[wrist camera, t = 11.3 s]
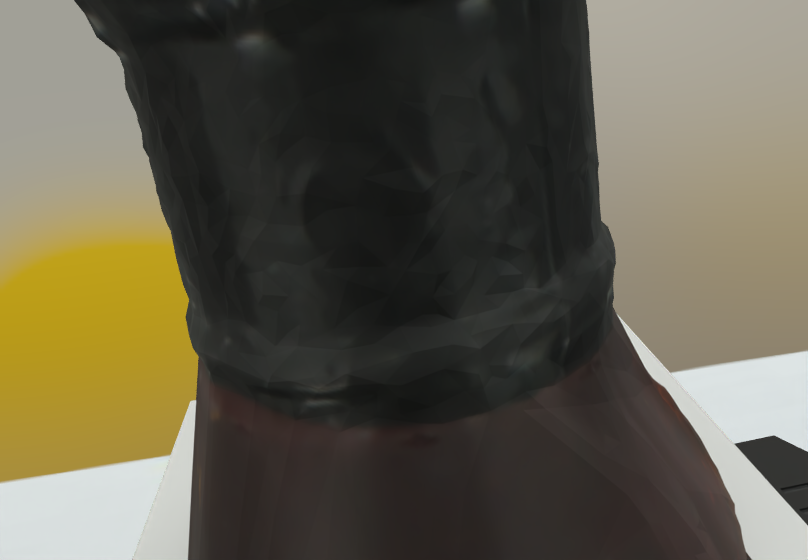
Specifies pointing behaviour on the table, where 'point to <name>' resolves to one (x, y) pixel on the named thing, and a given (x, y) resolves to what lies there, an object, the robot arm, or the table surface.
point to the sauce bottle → (404, 286)
